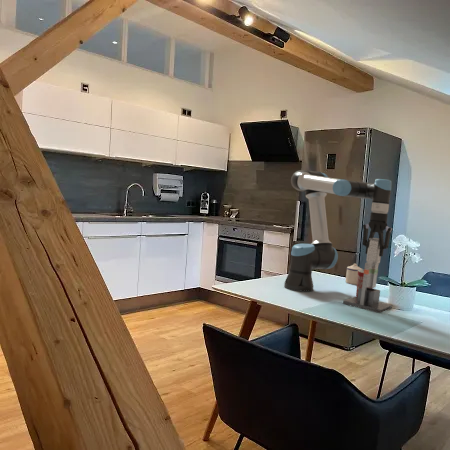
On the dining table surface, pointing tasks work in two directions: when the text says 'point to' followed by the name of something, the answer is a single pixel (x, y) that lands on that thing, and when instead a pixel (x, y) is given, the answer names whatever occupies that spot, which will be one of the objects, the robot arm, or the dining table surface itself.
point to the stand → (368, 296)
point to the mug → (360, 280)
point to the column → (373, 262)
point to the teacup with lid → (352, 274)
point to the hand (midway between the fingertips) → (373, 261)
